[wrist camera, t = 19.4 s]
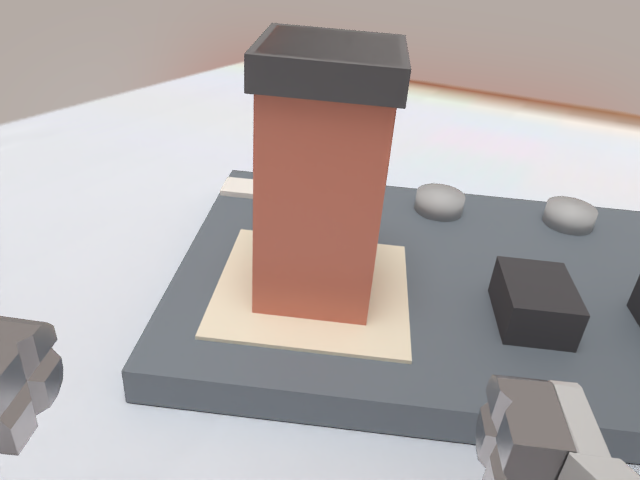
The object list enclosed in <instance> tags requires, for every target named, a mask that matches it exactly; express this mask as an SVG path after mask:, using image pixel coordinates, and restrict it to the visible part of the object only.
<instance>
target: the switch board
mask: <svg viewBox="0 0 640 480" xmlns="http://www.w3.org/2000/svg"><path fill="white" fill-rule="evenodd" d="M252 256H253V172H247V171H237V170H232V172H231V174H230V175H229V177H227V179H226V181H225V183H224V185H223V186H222V188H221V190H220V194H219V195H218V197H217V199H216V201H215V203H214V204H213V206H212V208H211V210H210V212H209V213H208V215H207V217H206V219H205V221H204V223H203V224H202V226H201V228H200V230H199V232H198V233H197V235H196V237H195V239H194V241H193V242H192V244H191V246H190V248H189V250H188V252H187V253H186V255H185V257H184V259H183V261H182V262H181V264H180V266H179V268H178V270H177V272H176V273H175V275H174V277H173V279H172V281H171V282H170V284H169V286H168V288H167V290H166V291H165V293H164V295H163V297H162V299H161V301H160V302H159V304H158V306H157V308H156V310H155V311H154V313H153V315H152V317H151V319H150V320H149V322H148V324H147V326H146V328H145V330H144V331H143V333H142V335H141V337H140V339H139V340H138V342H137V344H136V346H135V348H134V350H133V351H132V353H131V355H130V357H129V359H128V360H127V362H126V364H125V366H124V368H123V369H122V378H123V384H124V391H125V398H126V402H128V403H136V404H145V405H153V406H161V407H170V408H178V409H186V410H194V411H203V412H211V413H219V414H227V415H236V416H244V417H252V418H261V419H269V420H277V421H285V422H294V423H302V424H310V425H318V426H327V427H335V428H343V429H352V430H360V431H368V432H376V433H385V434H393V435H401V436H409V437H418V438H426V439H434V440H442V441H451V442H459V443H467V444H476V439H475V434H476V423H477V418H478V414H479V410H480V407H482V406H483V405H484V404H486V403H487V402H488V400H487V395H486V387H487V384H488V381H489V379H490V377H491V376H492V374H494V375H504V376H513V377H522V378H531V379H540V380H547V381H548V380H553V381H563V382H573V383H578V384H579V385H580V386H581V387H582V389H583V391H584V393H585V396H586V398H587V400H588V403H589V405H590V408H591V410H592V412H593V415H594V417H595V419H596V422H597V424H598V426H599V429H600V431H601V434H602V436H603V438H604V441H605V443H606V445H607V448H608V450H609V453H610V455H611V457H612V458H619V459H621V460H622V461H624V462H625V463H633V464H640V211H631V210H621V209H611V208H601V207H594V206H592V205H591V204H589V203H587V202H585V201H582V200H579V199H576V198H572V197H564V196H557V197H552V198H550V199H548V201H547V202H542V201H532V200H523V199H513V198H503V197H493V196H483V195H473V194H463V193H462V192H461V191H460V190H458V189H456V188H454V187H451V186H448V185H444V184H425V185H422V186H420V187H419V188H418V189H414V188H404V187H394V186H386V187H385V194H384V201H383V209H382V216H381V223H380V230H379V237H378V244H377V251H376V258H375V266H374V273H373V280H372V287H371V294H370V301H369V308H368V316H367V323H366V326H365V325H357V324H348V323H339V322H330V321H321V320H312V319H304V318H295V317H286V316H277V315H268V314H259V313H252Z"/></svg>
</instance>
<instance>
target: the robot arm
mask: <svg viewBox="0 0 640 480" xmlns="http://www.w3.org/2000/svg"><path fill="white" fill-rule="evenodd" d="M56 341H57V337H56V333H55V329H54V326H53V325H51V324H49V323H47V322H39V321H32V320H25V319H18V318H11V317H4V316H0V454H7V455H17V456H18V455H19V454H20V452H21V451H22V449H23V448H24V446H25V445H26V443H27V442H28V440H29V439H30V437H31V436H32V434H33V433H34V431H35V430H36V428H37V427H38V424H37V419H36V415H38V414H39V413H41V412H43V411H44V410H46V409H48V408H50V407H51V405H52V404H53V402H54V400H55V399H56V397H57V395H58V393H59V390H60V387H61V383H62V380H63V364H62V359H61V357H60V356H59V355H58V354H57V353H56V352H55V351H54V350H53V349H52V348H51V347H52V346H53V345H54V343H55V342H56ZM486 395H487V400H488V402H487V403H486V404H484V405H483V406H482V407H480V410H479V414H478V418H477V423H476V434H475V439H476V451H477V457H478V460H479V461H480V462H481V464H482V465H483V466H484V467H485V468H486V469H485V472H484V475H483V479H482V480H640V475H638V474H637V473H636V472H635V471H634V470H633V469H632V468H630V467H629V466H628V465H627V464H626V463H625V462H624V461H622V460H621V459H619V458H612V457H611V455H610V453H609V450H608V448H607V445H606V443H605V441H604V438H603V436H602V434H601V431H600V429H599V426H598V424H597V422H596V419H595V417H594V415H593V412H592V410H591V408H590V405H589V403H588V400H587V398H586V396H585V393H584V391H583V389H582V387H581V386H580V385H579V384H578V383H573V382H563V381H553V380H548V381H547V380H540V379H531V378H522V377H513V376H504V375H494V374H492V376H491V377H490V379H489V381H488V384H487V387H486Z"/></svg>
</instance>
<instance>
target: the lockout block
mask: <svg viewBox="0 0 640 480" xmlns="http://www.w3.org/2000/svg"><path fill="white" fill-rule="evenodd" d="M410 74H411V66H410V60H409V53H408V47H407V42H406V35H400V34H389V33H378V32H366V31H356V30H345V29H333V28H322V27H311V26H300V25H288V24H278V23H271V25H270V26H269V27H268V28H267V29H266V30H265V31H264V32H263V34H262V35H261V36H260V37H259V38H258V39H257V40H256V41H255V43H254V44H253V45H252V46H251V47H250V48H249V49H248V50H247V51H246V53H245V54H244V93H246V94H254V134H253V256H252V313H259V314H268V315H277V316H286V317H295V318H304V319H312V320H321V321H330V322H339V323H348V324H357V325H365V326H366V323H367V316H368V308H369V301H370V294H371V287H372V280H373V273H374V266H375V258H376V251H377V244H378V237H379V230H380V223H381V216H382V209H383V201H384V194H385V187H386V180H387V173H388V166H389V159H390V152H391V144H392V137H393V130H394V123H395V116H396V109H397V108H403V109H405V107H406V101H407V94H408V87H409V80H410Z"/></svg>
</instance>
